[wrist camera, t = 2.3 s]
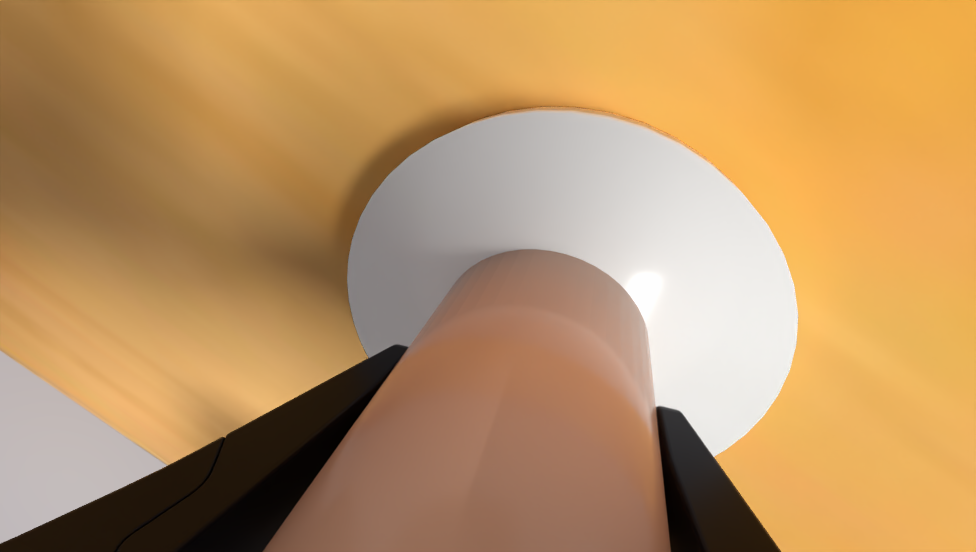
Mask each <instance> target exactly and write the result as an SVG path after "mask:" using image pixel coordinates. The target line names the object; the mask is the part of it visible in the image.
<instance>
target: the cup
mask: <svg viewBox="0 0 976 552" xmlns="http://www.w3.org/2000/svg"><path fill="white" fill-rule="evenodd" d="M263 552H671V547H670V537H669V528H668V518H667V509H666V499H665V490H664V480H663V471H662V461H661V452H660V442H659V433H658V423H657V413H656V404H655V394H654V385H653V375H652V366H651V356H650V347H649V338H648V331H647V328H646V324H645V321H644V318H643V316H642V314H641V312H640V310H639V308H638V306H637V305H636V303H635V302H634V300H633V299H632V297H631V296H630V295H629V294H628V293H627V292H626V290H625V289H624V288H623V287H622V286H621V285H620V284H619V283H618V282H616V281H615V280H614V279H613V278H612V277H611V276H609V275H608V274H606V273H605V272H603V271H602V270H600V269H599V268H597V267H596V266H594V265H592V264H589V263H587V262H585V261H583V260H581V259H578V258H576V257H573V256H570V255H567V254H563V253H558V252H554V251H547V250H538V249H525V250H514V251H507V252H503V253H500V254H496V255H493V256H491V257H488V258H486V259H484V260H481V261H480V262H478V263H476V264H475V265H473V266H472V267H470V268H469V269H468V270H467V271H465V272H464V273H463V274H462V275H461V276H460V277H459V278H458V280H457V281H456V282H455V283H454V285H453V286H452V287H451V289H450V290H449V292H448V293H447V294H446V296H445V297H444V299H443V300H442V301H441V303H440V304H439V306H438V307H437V308H436V310H435V311H434V313H433V314H432V315H431V317H430V318H429V320H428V321H427V322H426V324H425V325H424V327H423V328H422V329H421V331H420V332H419V334H418V335H417V336H416V338H415V339H414V340H413V342H412V343H411V345H410V346H409V347H408V349H407V350H406V352H405V353H404V354H403V356H402V357H401V359H400V360H399V361H398V363H397V364H396V366H395V367H394V368H393V370H392V371H391V373H390V374H389V375H388V377H387V378H386V380H385V381H384V382H383V384H382V385H381V387H380V388H379V389H378V391H377V392H376V394H375V395H374V396H373V398H372V399H371V401H370V402H369V403H368V405H367V406H366V408H365V409H364V410H363V412H362V413H361V415H360V416H359V417H358V419H357V420H356V422H355V423H354V424H353V426H352V427H351V429H350V430H349V431H348V433H347V434H346V436H345V437H344V438H343V440H342V441H341V443H340V444H339V445H338V447H337V448H336V450H335V451H334V452H333V454H332V455H331V457H330V458H329V459H328V461H327V462H326V464H325V465H324V466H323V468H322V469H321V471H320V472H319V473H318V475H317V476H316V478H315V479H314V480H313V482H312V483H311V485H310V486H309V487H308V489H307V490H306V492H305V493H304V494H303V496H302V497H301V498H300V500H299V501H298V503H297V504H296V505H295V507H294V508H293V510H292V511H291V512H290V514H289V515H288V517H287V518H286V519H285V521H284V522H283V524H282V525H281V526H280V528H279V529H278V531H277V532H276V533H275V535H274V536H273V538H272V539H271V540H270V542H269V543H268V545H267V546H266V547H265V549H264V550H263Z"/></svg>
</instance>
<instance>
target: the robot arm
mask: <svg viewBox="0 0 976 552" xmlns="http://www.w3.org/2000/svg"><path fill="white" fill-rule="evenodd" d="M407 349H408V346H404V345H400V344H395V345H392V346H390V347H388V348H387V349H385V350H383V351H381V352H379V353H377V354H375V355H374V356H372V357H370V358H368V359H366V360H364V361H362V362H361V363H359V364H357V365H355V366H353V367H351V368H349V369H348V370H346V371H344V372H342V373H340V374H338V375H336V376H335V377H333V378H331V379H329V380H327V381H325V382H324V383H322V384H320V385H318V386H316V387H314V388H312V389H311V390H309V391H307V392H305V393H303V394H301V395H299V396H298V397H296V398H294V399H292V400H290V401H288V402H286V403H285V404H283V405H281V406H279V407H277V408H275V409H273V410H272V411H270V412H268V413H266V414H264V415H262V416H260V417H259V418H257V419H255V420H253V421H251V422H249V423H247V424H246V425H244V426H242V427H240V428H238V429H236V430H234V431H233V432H231V433H229V434H227V436H226V438H225V437H221V438H219V439H217V440H216V441H214V442H212V443H210V444H208V445H206V446H204V447H203V448H201V449H199V450H197V451H195V452H193V453H191V454H189V455H187V456H185V457H183V458H181V459H180V460H178V461H176V462H174V463H172V464H170V465H168V466H166V467H164V468H162V469H160V470H158V471H156V472H154V473H152V474H150V475H148V476H146V477H143V478H141V479H139V480H137V481H135V482H133V483H131V484H129V485H127V486H125V487H123V488H121V489H118V490H116V491H114V492H112V493H110V494H108V495H105V496H103V497H101V498H99V499H97V500H95V501H93V502H91V503H88V504H86V505H84V506H82V507H79V508H77V509H75V510H73V511H71V512H69V513H67V514H65V515H62V516H60V517H58V518H56V519H54V520H52V521H49V522H47V523H45V524H43V525H41V526H38V527H36V528H34V529H32V530H30V531H28V532H25V533H23V534H21V535H19V536H17V537H15V538H12V539H10V540H8V541H6V542H3V543H1V544H0V552H263V550H264V549H265V547H266V546H267V545H268V543H269V542H270V540H271V539H272V538H273V536H274V535H275V533H276V532H277V531H278V529H279V528H280V526H281V525H282V524H283V522H284V521H285V519H286V518H287V517H288V515H289V514H290V512H291V511H292V510H293V508H294V507H295V505H296V504H297V503H298V501H299V500H300V498H301V497H302V496H303V494H304V493H305V492H306V490H307V489H308V487H309V486H310V485H311V483H312V482H313V480H314V479H315V478H316V476H317V475H318V473H319V472H320V471H321V469H322V468H323V466H324V465H325V464H326V462H327V461H328V459H329V458H330V457H331V455H332V454H333V452H334V451H335V450H336V448H337V447H338V445H339V444H340V443H341V441H342V440H343V438H344V437H345V436H346V434H347V433H348V431H349V430H350V429H351V427H352V426H353V424H354V423H355V422H356V420H357V419H358V417H359V416H360V415H361V413H362V412H363V410H364V409H365V408H366V406H367V405H368V403H369V402H370V401H371V399H372V398H373V396H374V395H375V394H376V392H377V391H378V389H379V388H380V387H381V385H382V384H383V382H384V381H385V380H386V378H387V377H388V375H389V374H390V373H391V371H392V370H393V368H394V367H395V366H396V364H397V363H398V361H399V360H400V359H401V357H402V356H403V354H404V353H405V352H406V350H407ZM656 413H657V423H658V433H659V442H660V452H661V461H662V471H663V480H664V490H665V499H666V509H667V518H668V528H669V537H670V547H671V552H781V551H780V549H779V548H778V546H777V545H776V544H775V542H774V541H773V539H772V538H771V537H770V535H769V534H768V532H767V531H766V530H765V528H764V527H763V525H762V524H761V523H760V521H759V520H758V518H757V517H756V516H755V514H754V513H753V511H752V510H751V509H750V507H749V506H748V504H747V503H746V502H745V500H744V499H743V497H742V496H741V495H740V493H739V492H738V490H737V489H736V488H735V486H734V485H733V483H732V482H731V481H730V479H729V478H728V476H727V475H726V474H725V472H724V471H723V469H722V468H721V466H720V465H719V464H718V462H717V461H716V459H715V458H714V457H713V455H712V454H711V452H710V451H709V450H708V448H707V447H706V445H705V444H704V443H703V441H702V440H701V438H700V437H699V436H698V434H697V433H696V431H695V430H694V429H693V427H692V426H691V424H690V423H689V422H688V420H687V419H686V417H685V416H684V415H683V413H682V412H680V411H679V410H677V409H672V408H668V407H664V406H657V407H656Z"/></svg>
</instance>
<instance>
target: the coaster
mask: <svg viewBox="0 0 976 552" xmlns="http://www.w3.org/2000/svg"><path fill="white" fill-rule="evenodd" d="M525 249H538V250H547V251H554V252H558V253H563V254H567V255H570V256H573V257H576V258H578V259H581V260H583V261H585V262H587V263H589V264H592V265H594V266H596V267H597V268H599V269H600V270H602V271H603V272H605V273H606V274H608V275H609V276H611V277H612V278H613V279H614V280H615V281H616V282H618V283H619V284H620V285H621V286H622V287H623V288H624V289H625V290H626V292H627V293H628V294H629V295H630V296H631V297H632V299H633V300H634V302H635V303H636V305H637V306H638V308H639V310H640V312H641V314H642V316H643V318H644V321H645V324H646V328H647V331H648V338H649V347H650V356H651V366H652V375H653V385H654V394H655V404H656V407H657V406H664V407H668V408H672V409H677V410H679V411H680V412H682V413H683V415H684V416H685V417H686V419H687V420H688V422H689V423H690V424H691V426H692V427H693V429H694V430H695V431H696V433H697V434H698V436H699V437H700V438H701V440H702V441H703V443H704V444H705V445H706V447H707V448H708V450H709V451H710V452H711V454H712V455H713V457H714V456H716V455H717V454H719V453H721V452H723V451H724V450H726V449H727V448H729V447H730V446H731V445H733V444H734V443H735V442H736V441H738V440H739V439H740V438H742V437H743V436H744V435H746V434H747V433H748V432H749V430H750V429H751V428H752V427H753V426H754V425H755V424H756V423H757V422H758V421H759V420H760V419H761V418H762V417H763V416H764V415H765V413H766V412H767V410H768V409H769V407H770V406H771V405H772V403H773V402H774V400H775V399H776V397H777V396H778V394H779V392H780V390H781V388H782V386H783V384H784V381H785V379H786V377H787V375H788V373H789V371H790V367H791V363H792V359H793V355H794V351H795V347H796V342H797V325H798V311H797V303H796V296H795V288H794V283H793V280H792V277H791V274H790V271H789V268H788V265H787V262H786V259H785V256H784V254H783V252H782V250H781V248H780V246H779V245H778V243H777V241H776V239H775V237H774V235H773V234H772V232H771V230H770V228H769V226H768V224H767V223H766V222H765V221H764V219H763V218H762V217H761V216H760V214H759V213H758V212H757V211H756V209H755V208H754V207H753V206H752V204H751V203H750V202H749V201H748V199H747V198H746V197H745V196H744V194H743V193H742V192H741V191H740V190H739V189H738V188H737V187H736V185H735V184H734V183H733V182H732V181H731V180H730V179H729V178H728V177H727V176H726V175H725V174H724V173H722V172H721V171H720V170H719V169H718V168H717V167H716V166H715V165H714V164H713V163H711V162H710V161H709V160H708V159H707V158H706V157H705V156H703V155H702V154H700V153H699V152H697V151H696V150H694V149H693V148H691V147H690V146H688V145H687V144H685V143H684V142H682V141H681V140H679V139H677V138H676V137H674V136H672V135H669V134H667V133H665V132H663V131H661V130H659V129H657V128H654V127H652V126H650V125H648V124H646V123H643V122H640V121H637V120H634V119H630V118H627V117H624V116H620V115H617V114H614V113H610V112H604V111H598V110H591V109H585V108H578V107H535V108H528V109H520V110H512V111H507V112H503V113H500V114H496V115H493V116H489V117H486V118H482V119H479V120H477V121H474V122H472V123H470V124H468V125H465V126H463V127H461V128H459V129H456V130H454V131H452V132H450V133H448V134H446V135H443V136H441V137H439V138H437V139H435V140H433V141H432V142H430V143H428V144H427V145H425V146H424V147H422V148H421V149H419V150H418V151H416V152H415V153H413V154H412V155H410V156H409V157H408V158H406V159H405V160H404V161H403V162H402V163H401V164H400V165H399V166H398V167H396V168H395V169H394V170H393V171H392V172H391V173H390V174H389V175H388V176H387V177H386V179H385V180H384V181H383V182H382V184H381V185H380V186H379V187H378V188H377V190H376V191H375V192H374V193H373V195H372V197H371V198H370V200H369V202H368V204H367V205H366V207H365V209H364V211H363V213H362V214H361V216H360V219H359V222H358V224H357V227H356V230H355V232H354V235H353V238H352V243H351V248H350V253H349V258H348V274H347V285H348V296H349V304H350V308H351V313H352V317H353V322H354V325H355V328H356V330H357V333H358V336H359V339H360V342H361V344H362V346H363V348H364V350H365V352H366V354H367V356H368V358H370V357H372V356H374V355H375V354H377V353H379V352H381V351H383V350H385V349H387V348H388V347H390V346H392V345H395V344H400V345H404V346H408V347H409V346H410V345H411V343H412V342H413V340H414V339H415V338H416V336H417V335H418V334H419V332H420V331H421V329H422V328H423V327H424V325H425V324H426V322H427V321H428V320H429V318H430V317H431V315H432V314H433V313H434V311H435V310H436V308H437V307H438V306H439V304H440V303H441V301H442V300H443V299H444V297H445V296H446V294H447V293H448V292H449V290H450V289H451V287H452V286H453V285H454V283H455V282H456V281H457V280H458V278H459V277H460V276H461V275H462V274H463V273H464V272H465V271H467V270H468V269H469V268H470V267H472V266H473V265H475V264H476V263H478V262H480V261H481V260H484V259H486V258H488V257H491V256H493V255H496V254H500V253H503V252H507V251H514V250H525Z"/></svg>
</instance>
